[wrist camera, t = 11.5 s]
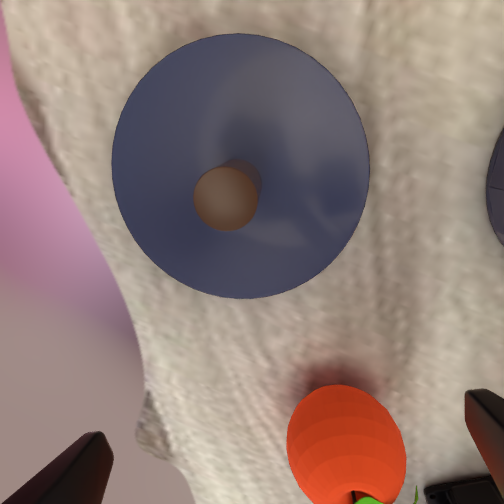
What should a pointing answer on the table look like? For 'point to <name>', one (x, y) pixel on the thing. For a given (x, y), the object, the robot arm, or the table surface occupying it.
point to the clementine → (346, 448)
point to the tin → (496, 189)
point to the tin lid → (240, 166)
